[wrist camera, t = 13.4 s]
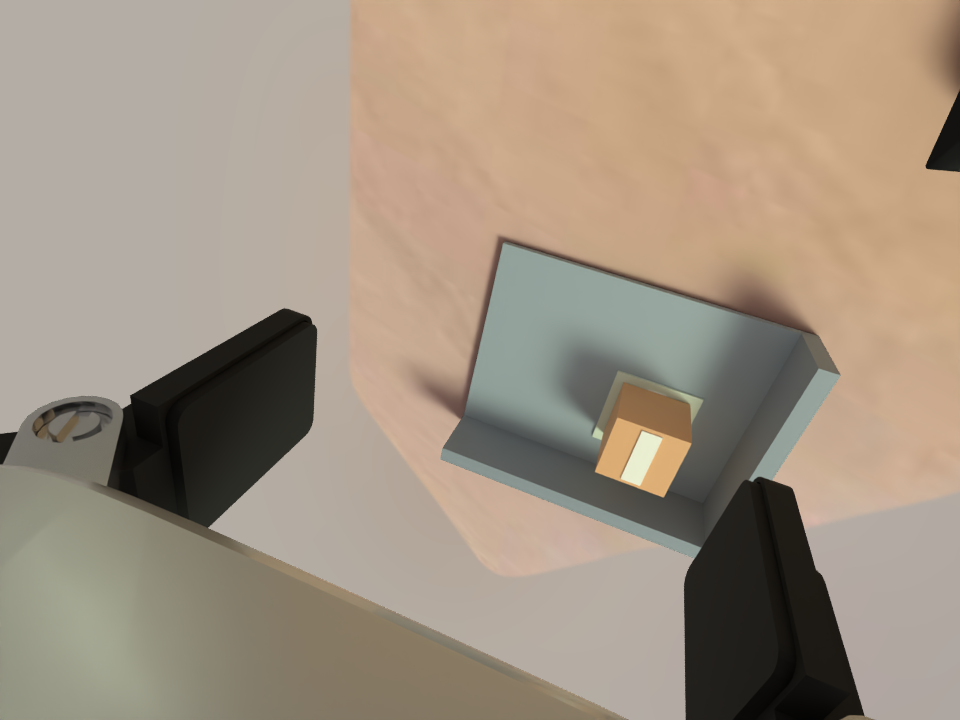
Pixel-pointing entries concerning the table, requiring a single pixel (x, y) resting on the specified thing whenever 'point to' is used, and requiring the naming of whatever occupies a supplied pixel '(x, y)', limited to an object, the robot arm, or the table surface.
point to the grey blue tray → (639, 362)
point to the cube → (645, 439)
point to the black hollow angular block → (948, 143)
